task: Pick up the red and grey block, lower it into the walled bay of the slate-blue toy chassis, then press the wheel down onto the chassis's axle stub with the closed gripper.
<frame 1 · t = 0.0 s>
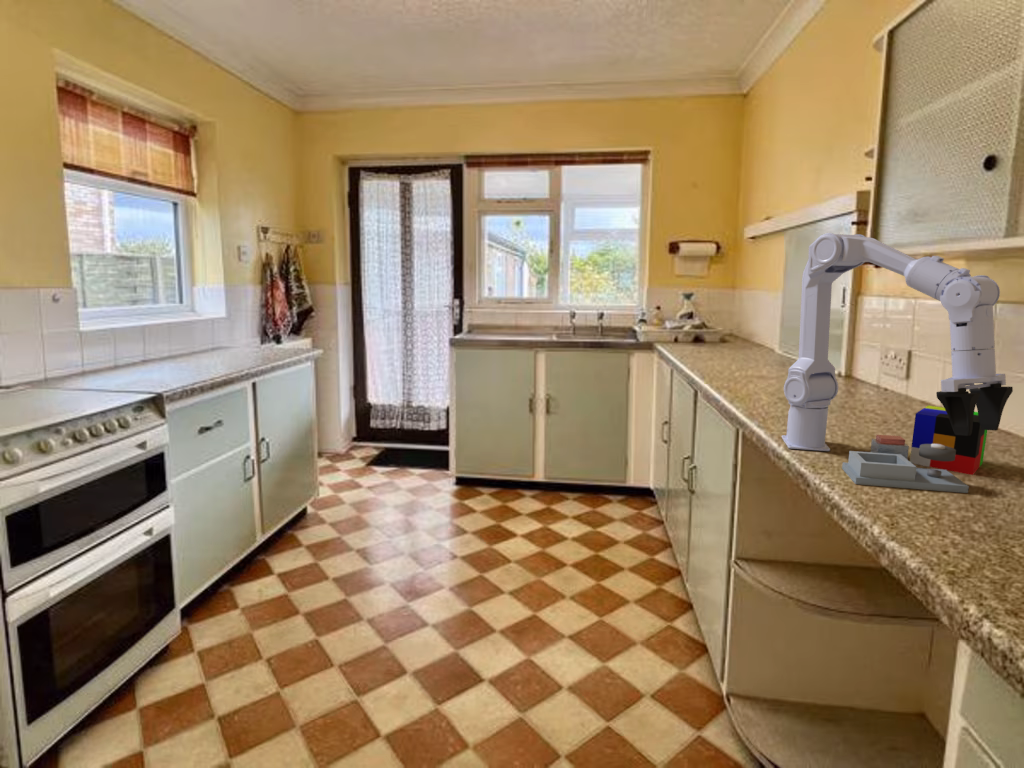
hand: (976, 432, 100), 11 cm above the countertop, tool pointing down, fingers open, 7 cm apart
red and grey block: (887, 467, 115), on the countertop
wheel: (937, 451, 106), point 6 cm above the countertop, slide at 2.5 cm
puzzle toy: (945, 464, 118), on the countertop
chassis: (901, 480, 108), on the countertop
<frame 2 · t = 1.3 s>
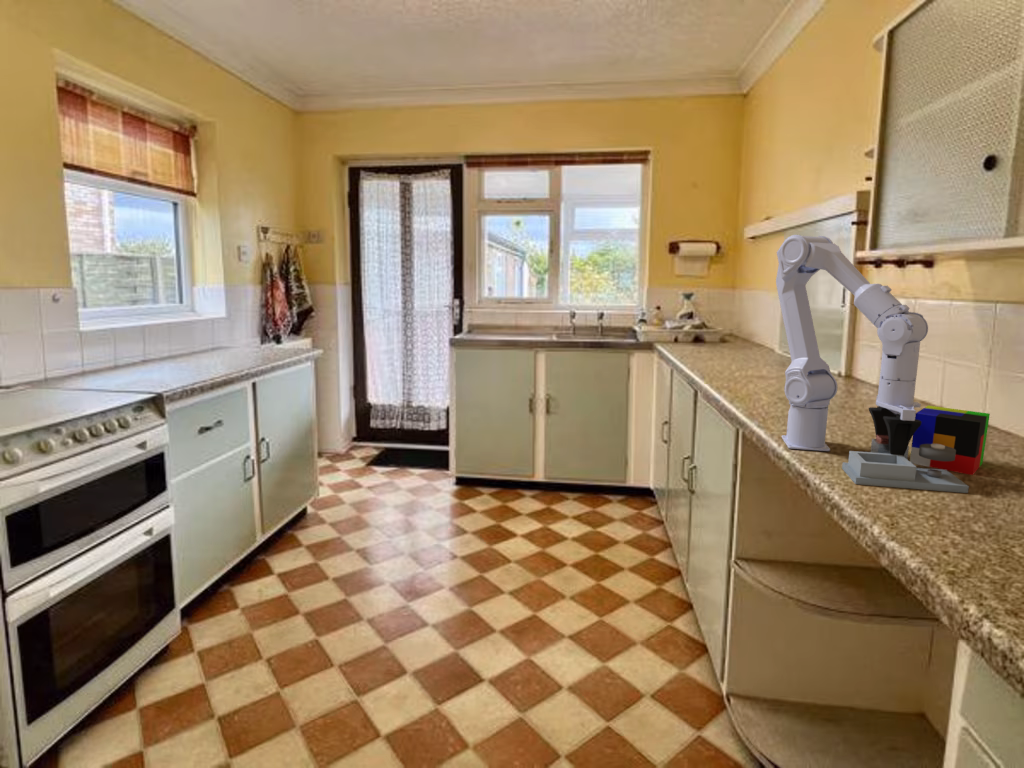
hand: (890, 449, 115), 3 cm above the countertop, tool pointing down, fingers open, 7 cm apart
nothing on the countertop moved.
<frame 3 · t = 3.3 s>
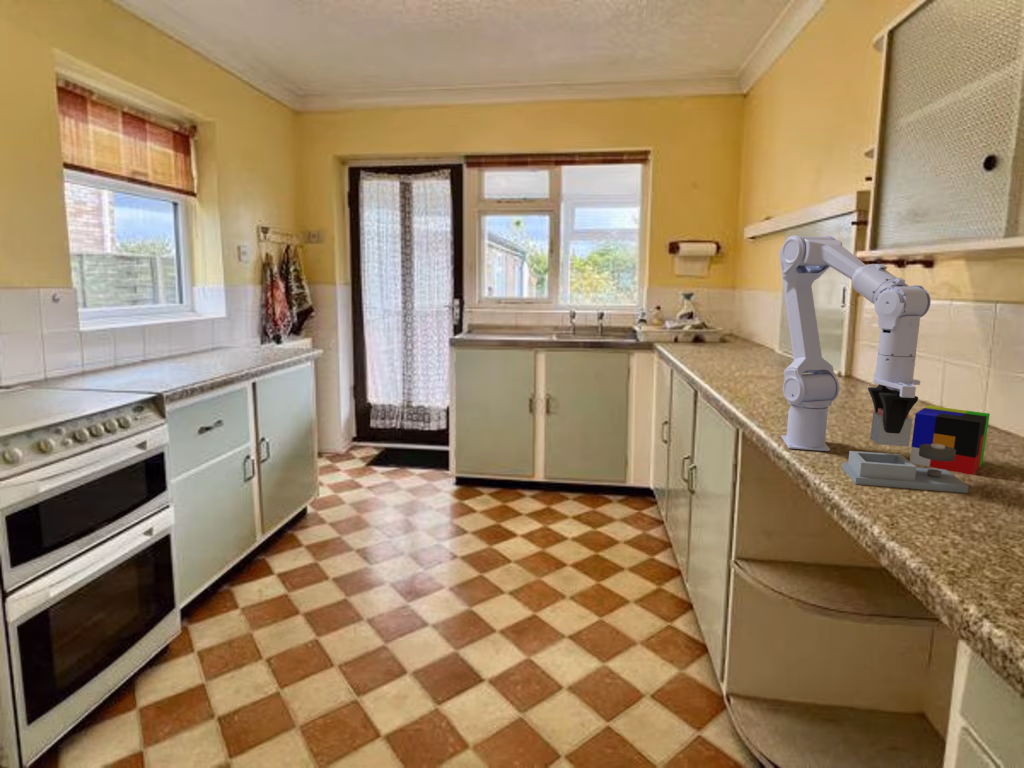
hand: (888, 429, 110), 8 cm above the countertop, tool pointing down, fingers closed on red and grey block, 4 cm apart
red and grey block: (889, 442, 110), point 6 cm above the countertop, touching gripper
everything else where it was.
when the fingers open (5 cm above the countertop, at t = 4.6 s): red and grey block stays where it is, resting on chassis.
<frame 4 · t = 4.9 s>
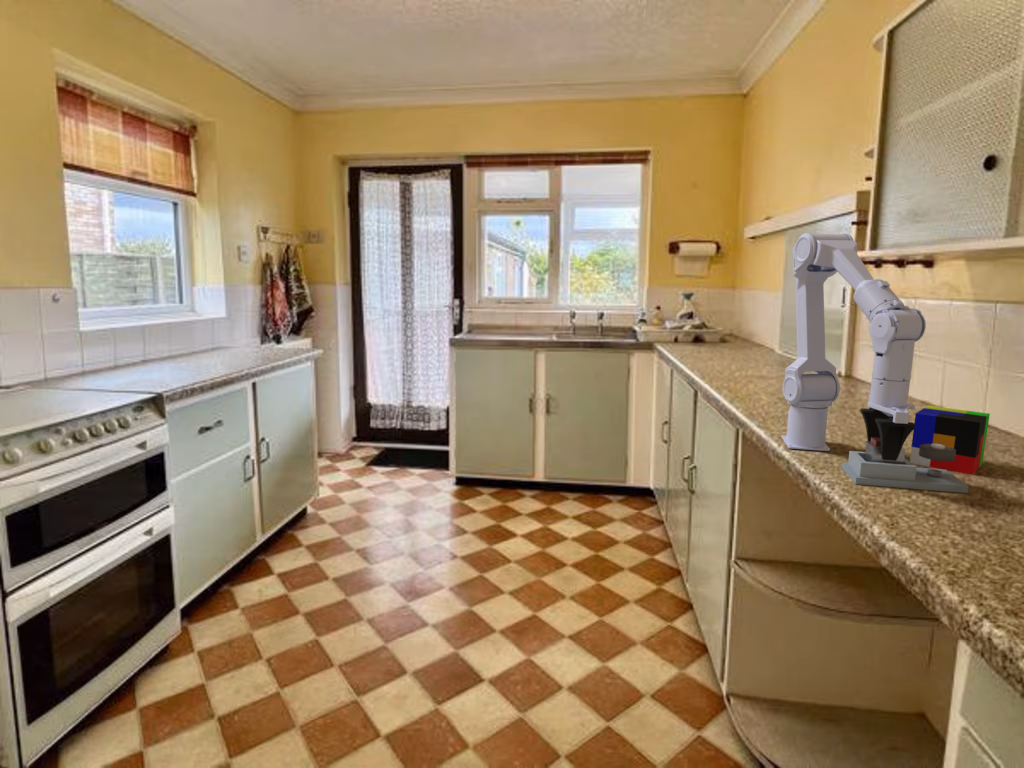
hand: (882, 453, 108), 5 cm above the countertop, tool pointing down, fingers open, 7 cm apart
red and grey block: (882, 472, 109), point 1 cm above the countertop, touching chassis
everything else where it was.
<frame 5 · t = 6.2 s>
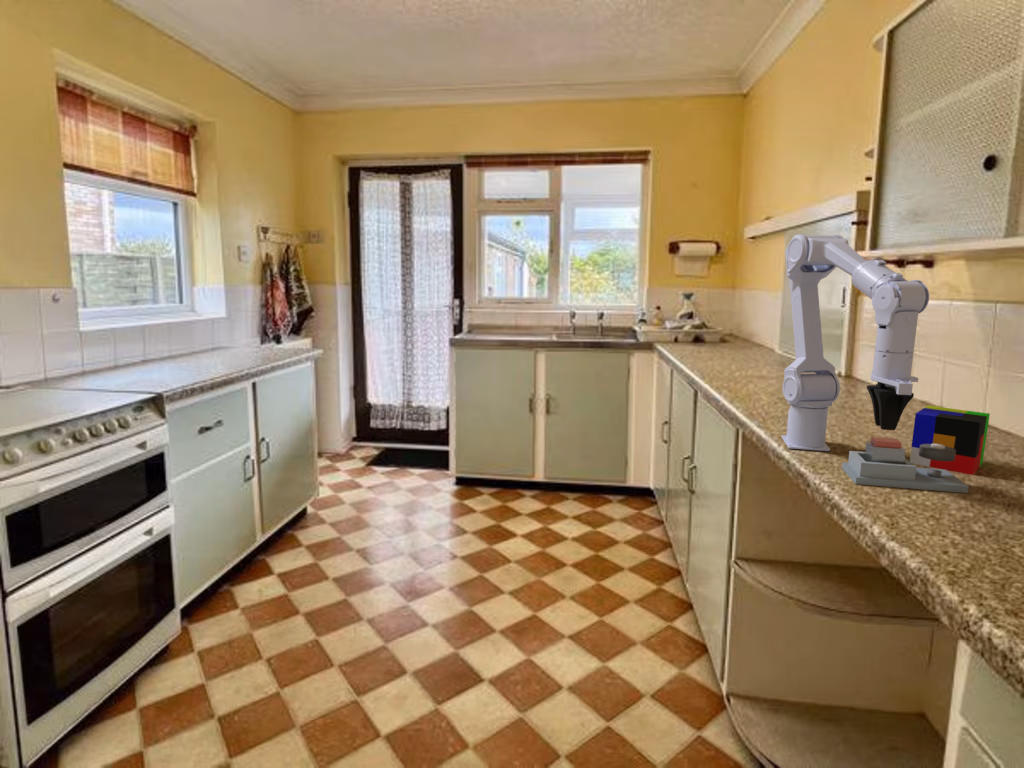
hand: (885, 427, 107), 9 cm above the countertop, tool pointing down, fingers closed
nothing on the countertop moved.
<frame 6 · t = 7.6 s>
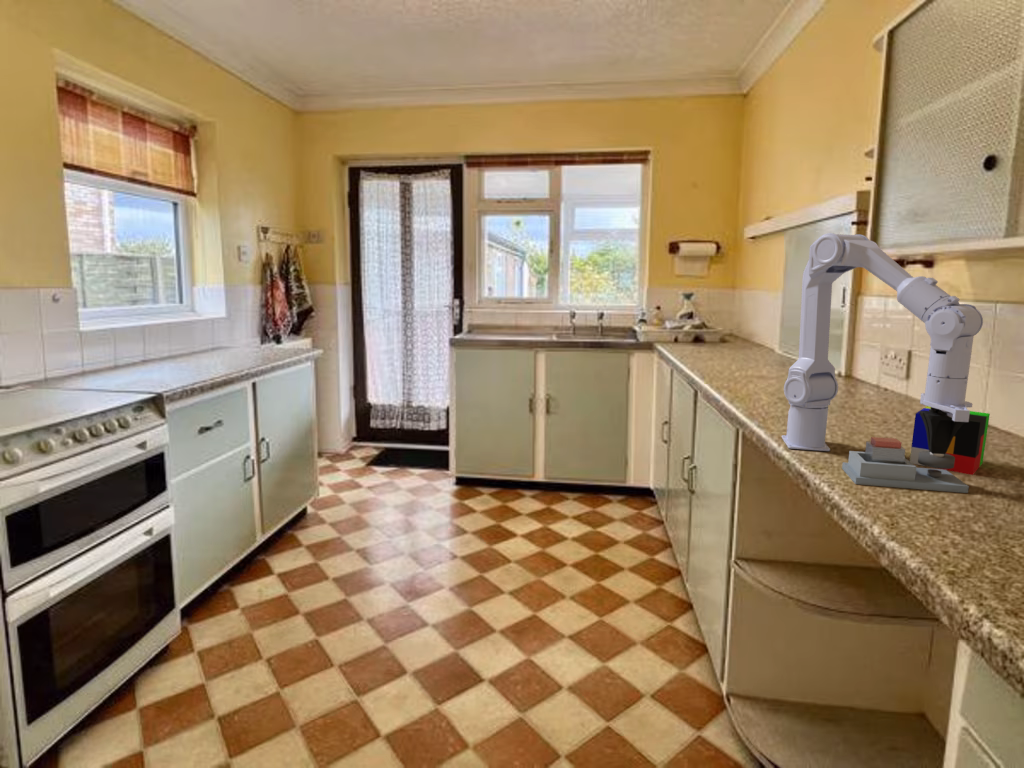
hand: (937, 452, 106), 5 cm above the countertop, tool pointing down, fingers closed, pressing on wheel
wheel: (936, 458, 106), point 4 cm above the countertop, slide at 1.2 cm, touching gripper
everything else where it was.
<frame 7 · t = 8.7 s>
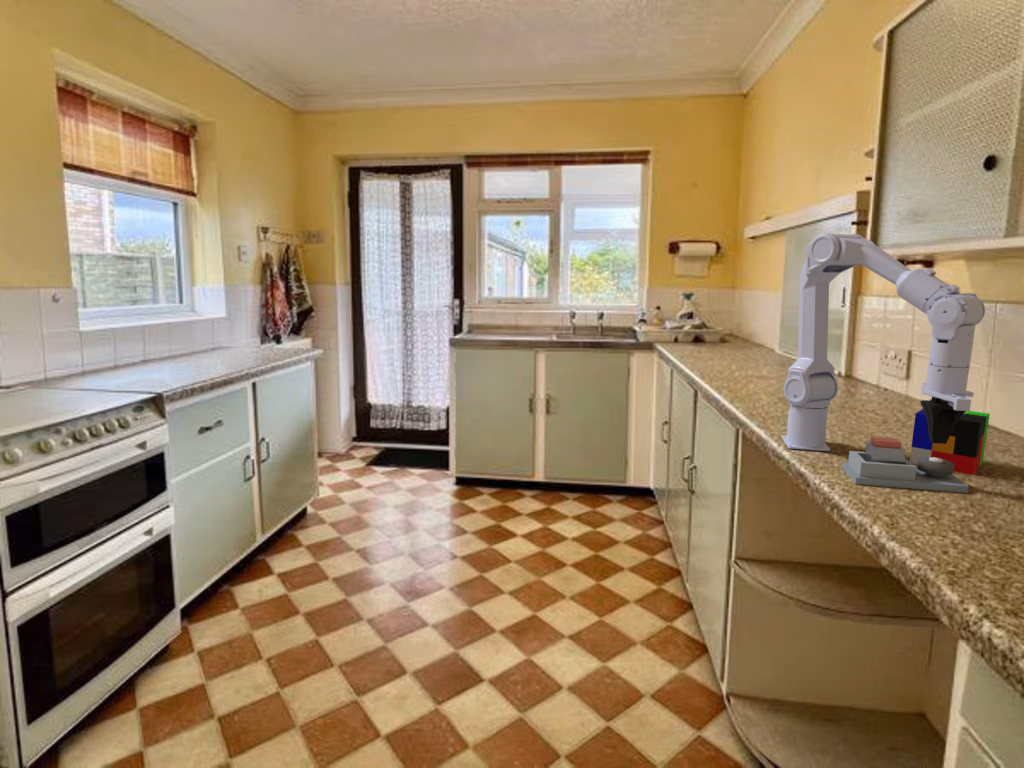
hand: (937, 442, 106), 7 cm above the countertop, tool pointing down, fingers closed
wheel: (935, 464, 106), point 3 cm above the countertop, slide at 0.0 cm
everything else where it was.
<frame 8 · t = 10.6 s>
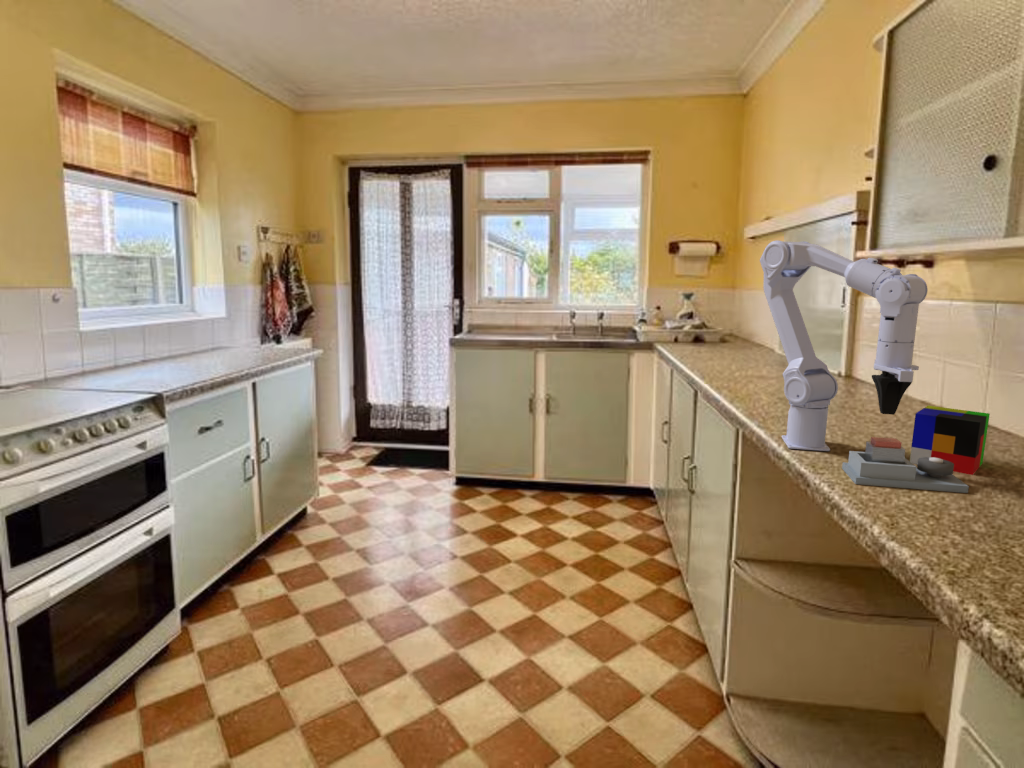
hand: (887, 413, 114), 10 cm above the countertop, tool pointing down, fingers closed
nothing on the countertop moved.
at the end: red and grey block 0.4 cm from the target spot on the chassis, point 1.2 cm above the chassis's base; red and grey block tilted 0°; wheel slide at 0.0 cm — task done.
